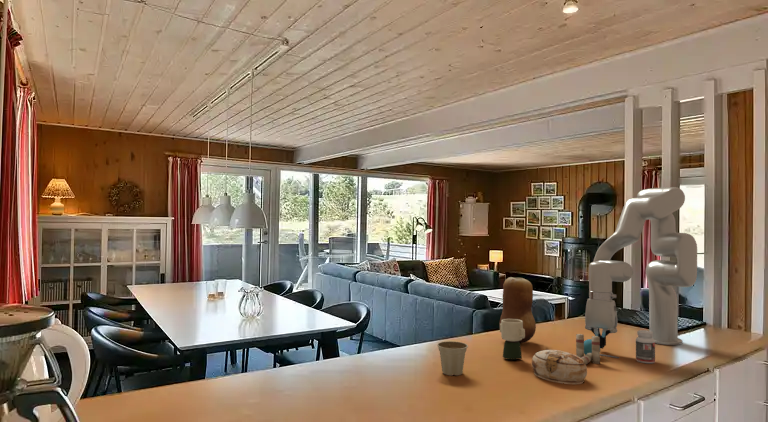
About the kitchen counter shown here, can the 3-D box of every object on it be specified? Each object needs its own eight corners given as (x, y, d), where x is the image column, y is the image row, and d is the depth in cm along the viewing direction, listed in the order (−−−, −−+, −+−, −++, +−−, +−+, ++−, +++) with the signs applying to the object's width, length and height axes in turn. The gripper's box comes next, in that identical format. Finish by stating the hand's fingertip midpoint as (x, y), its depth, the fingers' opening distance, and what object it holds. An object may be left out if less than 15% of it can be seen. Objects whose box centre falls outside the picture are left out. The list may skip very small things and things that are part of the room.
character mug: (532, 361, 163) (531, 322, 163) (517, 364, 159) (516, 324, 160) (507, 353, 172) (507, 316, 173) (493, 356, 168) (492, 319, 169)
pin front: (586, 352, 165) (578, 357, 159) (594, 353, 164) (586, 358, 157) (586, 359, 165) (578, 365, 159) (594, 360, 164) (586, 366, 157)
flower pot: (470, 370, 153) (470, 342, 153) (465, 379, 144) (465, 349, 145) (440, 367, 156) (440, 340, 156) (434, 375, 147) (434, 347, 148)
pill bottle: (657, 364, 160) (657, 333, 160) (638, 363, 161) (638, 333, 161) (651, 359, 165) (651, 330, 165) (633, 358, 166) (633, 329, 167)
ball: (577, 348, 168) (583, 360, 170) (594, 349, 164) (601, 361, 166) (580, 335, 171) (587, 347, 174) (597, 335, 167) (604, 347, 170)
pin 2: (593, 361, 163) (592, 335, 163) (600, 362, 161) (600, 336, 162) (590, 363, 161) (590, 337, 161) (598, 364, 160) (598, 338, 160)
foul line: (577, 351, 176) (577, 350, 176) (619, 357, 168) (619, 357, 168) (576, 351, 175) (576, 351, 175) (618, 358, 167) (618, 357, 167)
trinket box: (529, 370, 154) (529, 345, 154) (579, 372, 152) (578, 346, 152) (536, 384, 140) (536, 356, 141) (591, 386, 138) (591, 358, 139)
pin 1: (577, 358, 166) (577, 333, 166) (585, 360, 165) (584, 334, 165) (575, 360, 164) (574, 334, 164) (582, 361, 163) (582, 335, 163)
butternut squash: (543, 343, 187) (543, 278, 187) (520, 348, 179) (519, 280, 180) (514, 336, 198) (514, 275, 199) (491, 341, 191) (491, 277, 191)
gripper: (625, 297, 174) (626, 348, 174) (582, 293, 183) (582, 342, 183) (620, 299, 168) (621, 353, 168) (575, 295, 178) (576, 346, 177)
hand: (601, 347), depth 175 cm, fingers closed
